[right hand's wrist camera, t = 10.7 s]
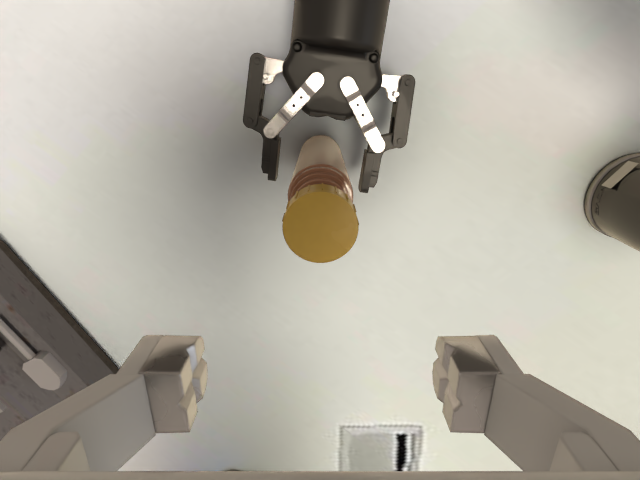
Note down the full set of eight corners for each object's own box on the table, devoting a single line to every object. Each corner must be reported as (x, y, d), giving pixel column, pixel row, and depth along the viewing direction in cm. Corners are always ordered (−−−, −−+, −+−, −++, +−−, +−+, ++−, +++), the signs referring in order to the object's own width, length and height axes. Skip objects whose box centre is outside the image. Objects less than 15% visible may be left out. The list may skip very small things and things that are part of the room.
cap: (329, 263, 23) (329, 277, 21) (270, 226, 22) (266, 237, 21) (370, 209, 22) (374, 219, 20) (310, 168, 21) (309, 175, 19)
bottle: (325, 184, 43) (330, 277, 22) (292, 161, 42) (263, 235, 21) (349, 150, 42) (378, 216, 21) (315, 126, 41) (309, 168, 20)
